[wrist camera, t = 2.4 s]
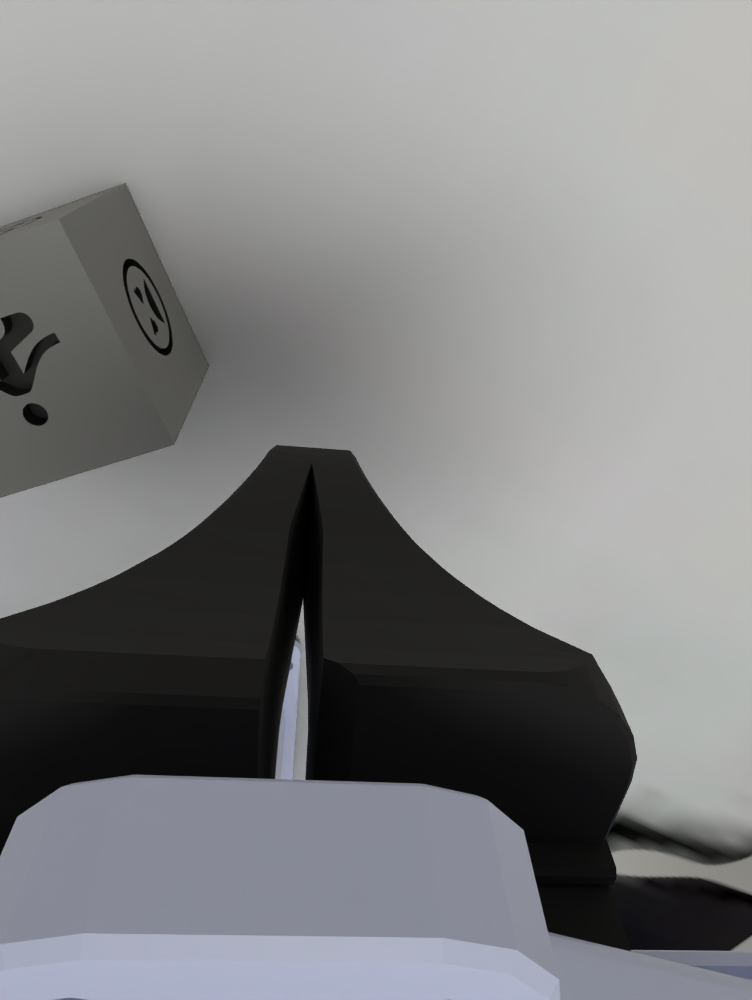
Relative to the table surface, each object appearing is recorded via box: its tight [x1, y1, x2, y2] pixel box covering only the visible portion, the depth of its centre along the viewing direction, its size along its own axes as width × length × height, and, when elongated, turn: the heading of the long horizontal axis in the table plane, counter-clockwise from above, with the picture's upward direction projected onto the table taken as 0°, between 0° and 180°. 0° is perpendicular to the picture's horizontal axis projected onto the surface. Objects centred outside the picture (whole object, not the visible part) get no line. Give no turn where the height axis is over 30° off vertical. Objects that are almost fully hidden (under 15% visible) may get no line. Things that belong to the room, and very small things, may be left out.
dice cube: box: [0, 183, 209, 498], centre depth 17 cm, size 5×5×5 cm
